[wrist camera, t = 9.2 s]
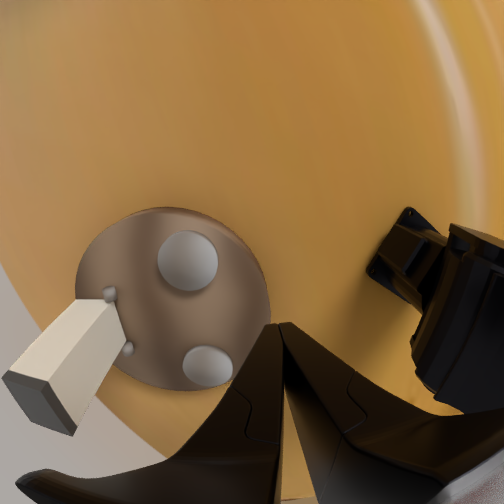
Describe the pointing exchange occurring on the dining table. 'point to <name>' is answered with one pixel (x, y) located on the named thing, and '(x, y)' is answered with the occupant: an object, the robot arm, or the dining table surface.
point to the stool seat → (177, 296)
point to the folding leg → (67, 365)
